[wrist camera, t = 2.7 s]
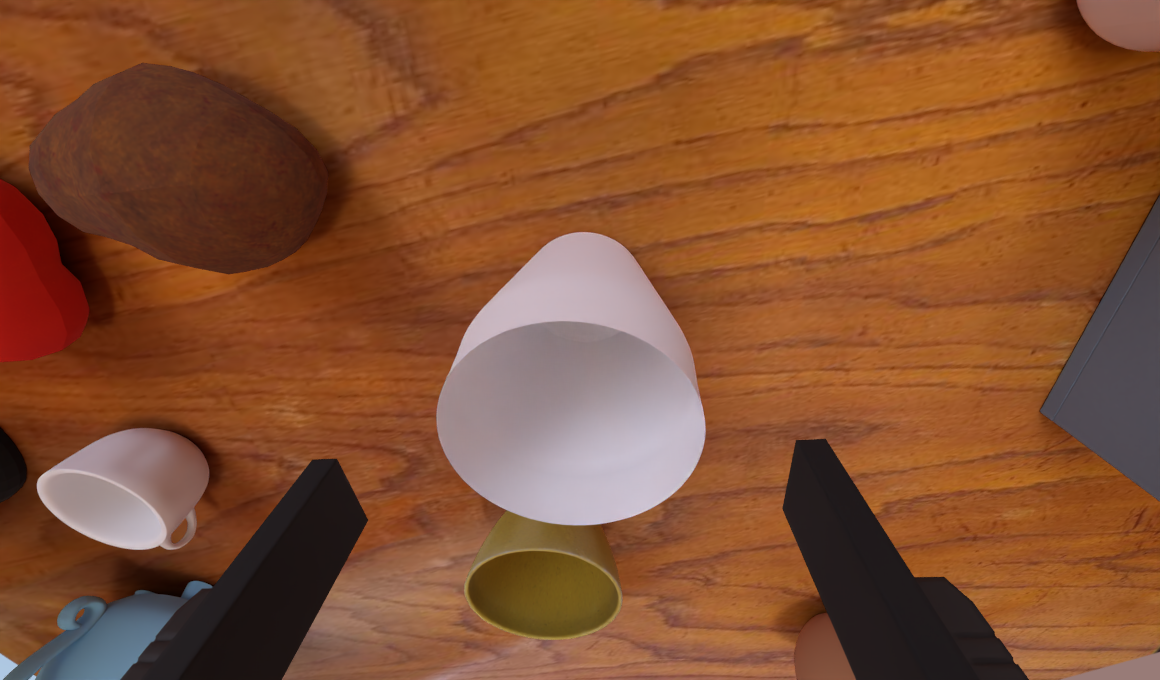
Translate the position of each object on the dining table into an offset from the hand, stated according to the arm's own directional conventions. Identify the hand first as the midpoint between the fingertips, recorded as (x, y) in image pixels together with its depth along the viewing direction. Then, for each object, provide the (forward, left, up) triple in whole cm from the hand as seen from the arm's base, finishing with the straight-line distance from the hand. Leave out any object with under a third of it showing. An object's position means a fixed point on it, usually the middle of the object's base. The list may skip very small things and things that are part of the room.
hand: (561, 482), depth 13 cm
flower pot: (+18, -4, -14) cm, 23 cm away
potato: (-8, -16, -14) cm, 23 cm away
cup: (0, 0, -14) cm, 14 cm away
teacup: (+12, -32, -14) cm, 37 cm away
